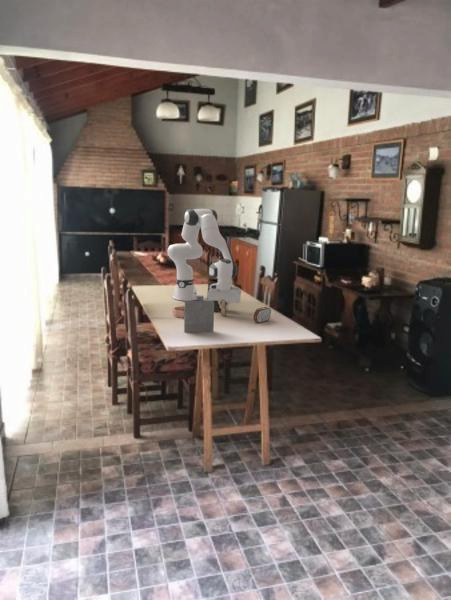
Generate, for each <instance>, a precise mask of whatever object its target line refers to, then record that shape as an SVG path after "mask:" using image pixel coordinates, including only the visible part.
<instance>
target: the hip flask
mask: <svg viewBox="0 0 451 600" xmlns="http://www.w3.org/2000/svg"><path fill="white" fill-rule="evenodd" d="M184 306H185V316H184V318H183V320H184V324H183V327H184V328H183V333H187V334H189V333H190V334H194V333H195V334H199V333H200V334H201V333H204V332H206V333H214V325H215V324H214V323H215V322H214V321H215V317H214V316H215V312H214V299H207V298H206V299H205V298H204V295H202V294H198V295H197V299H190V300H185V301H184Z"/></svg>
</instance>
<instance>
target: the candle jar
mask: <svg viewBox="0 0 451 600" xmlns="http://www.w3.org/2000/svg"><path fill="white" fill-rule="evenodd" d="M171 312H172V315H173V316H174V317H176V318H182V319H184V316H185V305H183V306H181V305H180V306H175V307H173V308H172V310H171Z"/></svg>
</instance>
